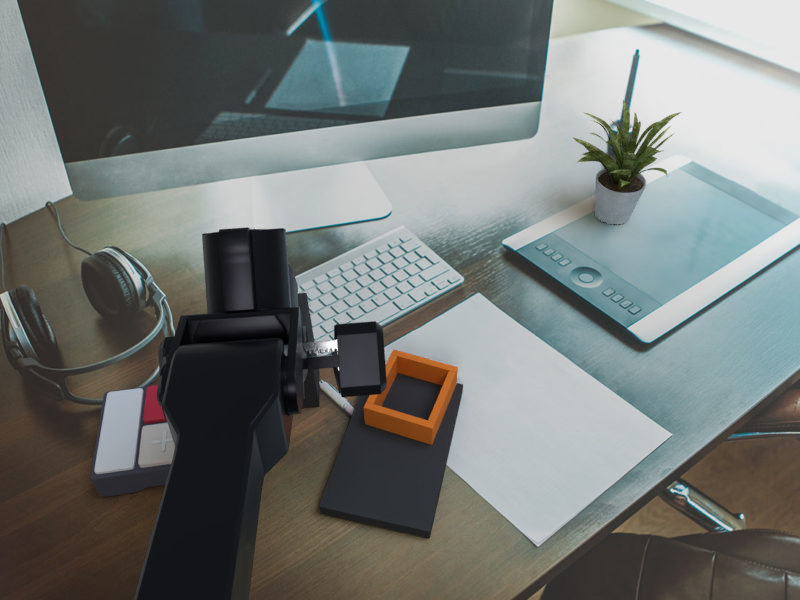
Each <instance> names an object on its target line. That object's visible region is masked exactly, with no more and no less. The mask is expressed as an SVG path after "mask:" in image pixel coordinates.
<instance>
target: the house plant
mask: <svg viewBox="0 0 800 600" xmlns="http://www.w3.org/2000/svg"><path fill="white" fill-rule="evenodd" d="M622 107H623V108H622V109H623V111H622V112H623V117H622V118H623V119H622V127H620V126H619V125H618V124H617V123H616V122H615V121H613V120H612V119H610V121H611V122H612V123H613V124H614V125H615V126H616V128H617V132H616V134H615V131H614V130H613V129H612V128H611V126H610V124H609V123H607V122H606V121H605V120H604V119H602V118H600V117H598V116H595V115H594V114H590V113H588V112H584V111H582V113H583V114H585V115H587V116H589V117H591V118H592V119H594V120H591V121H592V122H594V123H596V124H598V125H600V126H601V128H602V129H603V130H604V132H605V133H606V136H607V138H608V140H605V139H604V138H603V137H602V136H600V135H599V134H597V133H595V132H589V135H593V136H596V137H598V138H600V139H601V140H602V141H603V142H605V144H607V146H608V147H609V148H610V150H611V152H612V154H613V156H614V158H615V160H614V159H613V157H611V156H610V155H609V154H608V153H607V152H605V151H604V150H602V149H600V148H599V147H596V146H595V145H593V144H592V143H590V142H588V141H586V140H584V139H580V138H576V137H572V139H573V140H574V141H575V142H576V143H578V144H580V145H582V146H583V147H584V148H585V149H586V152H583V153H581V154H580V156H583V157H581V158H580V159H579V160H578V161H577V163H579V162H580V163H581V162H582V163H583V162H585V163H586V162H597V163H600V164H601V165H602V166H603V168H601V169H600V170H599V171H598V172H597V173H596V175H595V185H594V186H595V189H594V216H595V217H596V219H597V218H598V221H600V220H601V221H600V222H602V221H603V222H606V223H607V224H606V223H605V224H606V225H610V224H612V225H611V226H614V225H613V224H617V225H616V226H619V225H618V224H621V225H624V224H626V223H627V222H628V221H629V220H630V217H631V216H632V214H633V213H634V210H635V208H636V206H637V205H638V202H639V200H640V199H641V197H642V195H643V193H644V191H645V189H646V187H647V184H648V183H647V179H646V178H645V176H644V174H642V173H645V172H646V171H657V172H661V173H664V174H665V175H666V177H667V178H668V172H667V170H666V169H665V168H662V167H651V168H647V169H645V168H646V167H648V166H650V165H651V164H653V163H655V162H656V161H657V160H658V158H657V157H655V155H656V154H658V153H661V152H665V150H659V149H658V148H660V147H661V146H662V145H664V143H665V142H666V141H668V140H669V139H670V138H671V137H672V136H673V135H674V133H672V134H671V135H669V136H667V137H666V138H664V139H663V140H662V141H661V142H659V143H658V144H657V145H656V146H655V147H652V146H654V144H656V143H657V142H658V141H659V140H660V139H661V138H662V137H663V136H664V135H665V133H667V131H668V130H669V129H670V128H671V127H672V125H669V126H668V127H667V128H666V129H664V130H663V131H662V132H660V131H661V130H662V129H663V128H664V127H666V125H667V124H669V122H671V120H673V118H675V117H677V116H679V115H680V114H682V112H680V111H679V112H676V113H672V114H669V115H667V116H666V117H663V118H662V119H661V120H659V121H655V122H653V123H651V124H650V125H648V127H646V128H645V130H644V131H643V132H642V133H641V135H640V131H641V127H642V123H641V121H639V120H638V115H637V113H636V112H634V115H633V116H634V117H633V125H632V128H631V129H632V130H631V135H630V138H629V134H630V121H631V113H630V109H629V108H628V105H627V103H626V101H625V100H624V99H622ZM658 133H659V134H658ZM657 134H658V136H657ZM639 135H640V137H639ZM638 138H639V139H638ZM643 139H644V140H643ZM653 139H654V140H653ZM642 140H643V141H642ZM641 142H642V143H641ZM639 145H640V146H639ZM637 149H638V150H637ZM635 152H636V153H635ZM643 169H644V170H643ZM603 222H602V223H603ZM623 223H624V224H623Z"/></svg>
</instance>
